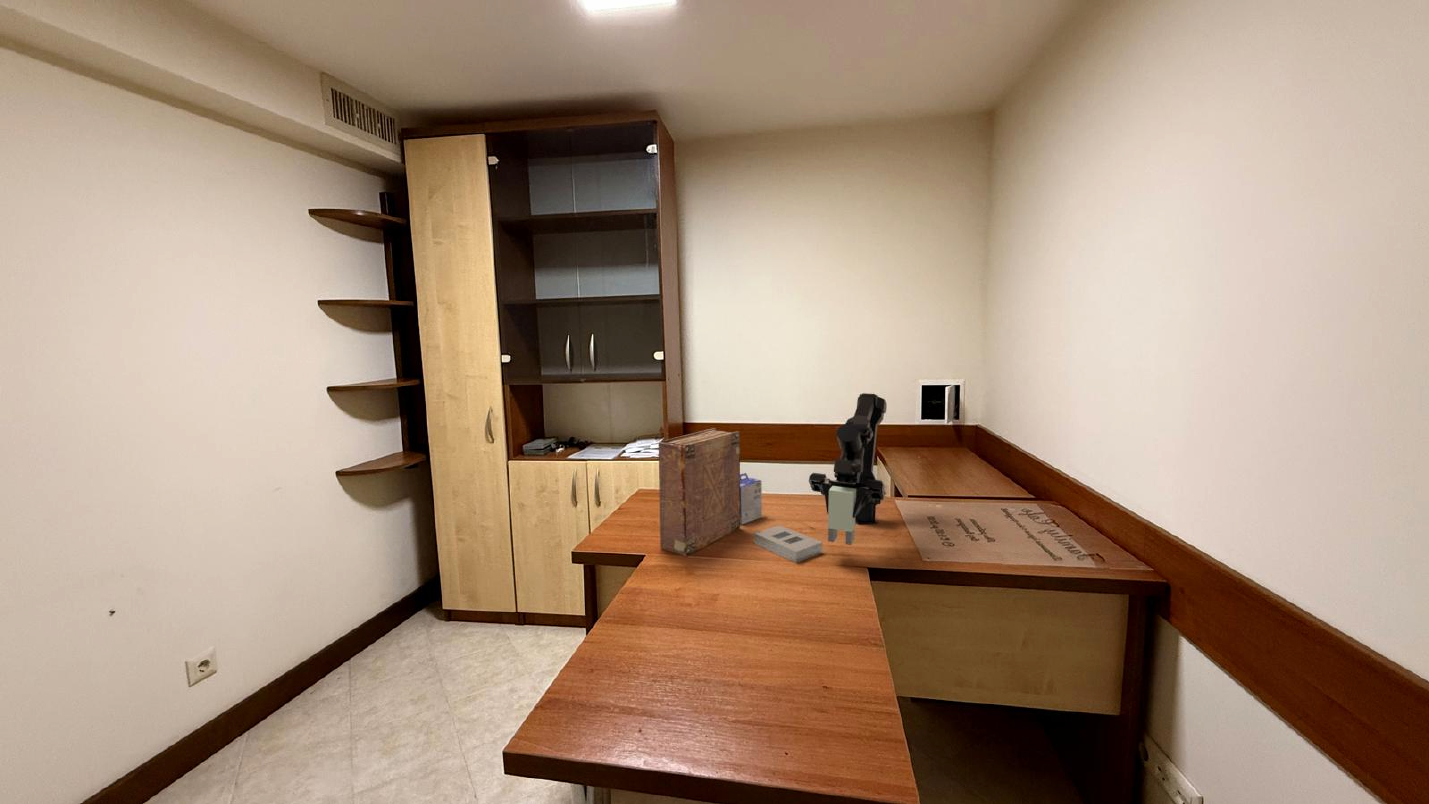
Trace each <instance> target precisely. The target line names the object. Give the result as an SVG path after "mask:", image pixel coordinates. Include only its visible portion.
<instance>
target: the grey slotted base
mask: <svg viewBox="0 0 1429 804" xmlns="http://www.w3.org/2000/svg"><path fill="white" fill-rule="evenodd" d="M753 535H754V536H753V543H754V544H755V545H757V546H759V547H761V548H763V549H765V550H768V551H769V552H772V553H774V554H776V555H778V556H780V557H782V558H785V559H787V560H788V561H791V562H793V563H796V564H797V563H799V562H802V561H806V560H808V559H810V558H812V557H815V556H817V555H820V554H822V553H823V541H821V540H817V539H816V538H813V537H810V536H809V535H805V534H803V533H801V532H798V531H795V530H793V529H791V528H788V527H785V526H783V525H779V524H778V525H776V526H772V527H769V528H767V529H763V530H759V531H757V532H754V534H753Z"/></svg>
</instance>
